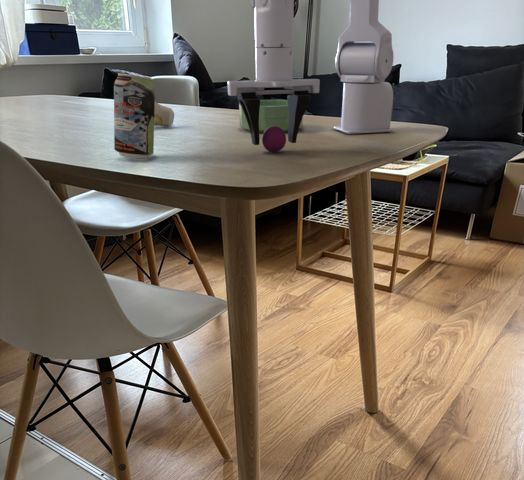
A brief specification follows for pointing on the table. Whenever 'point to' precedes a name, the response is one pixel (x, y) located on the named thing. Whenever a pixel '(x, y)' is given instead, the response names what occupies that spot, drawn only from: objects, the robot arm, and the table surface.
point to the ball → (274, 139)
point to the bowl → (269, 115)
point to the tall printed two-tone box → (134, 116)
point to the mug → (163, 116)
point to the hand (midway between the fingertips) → (274, 143)
